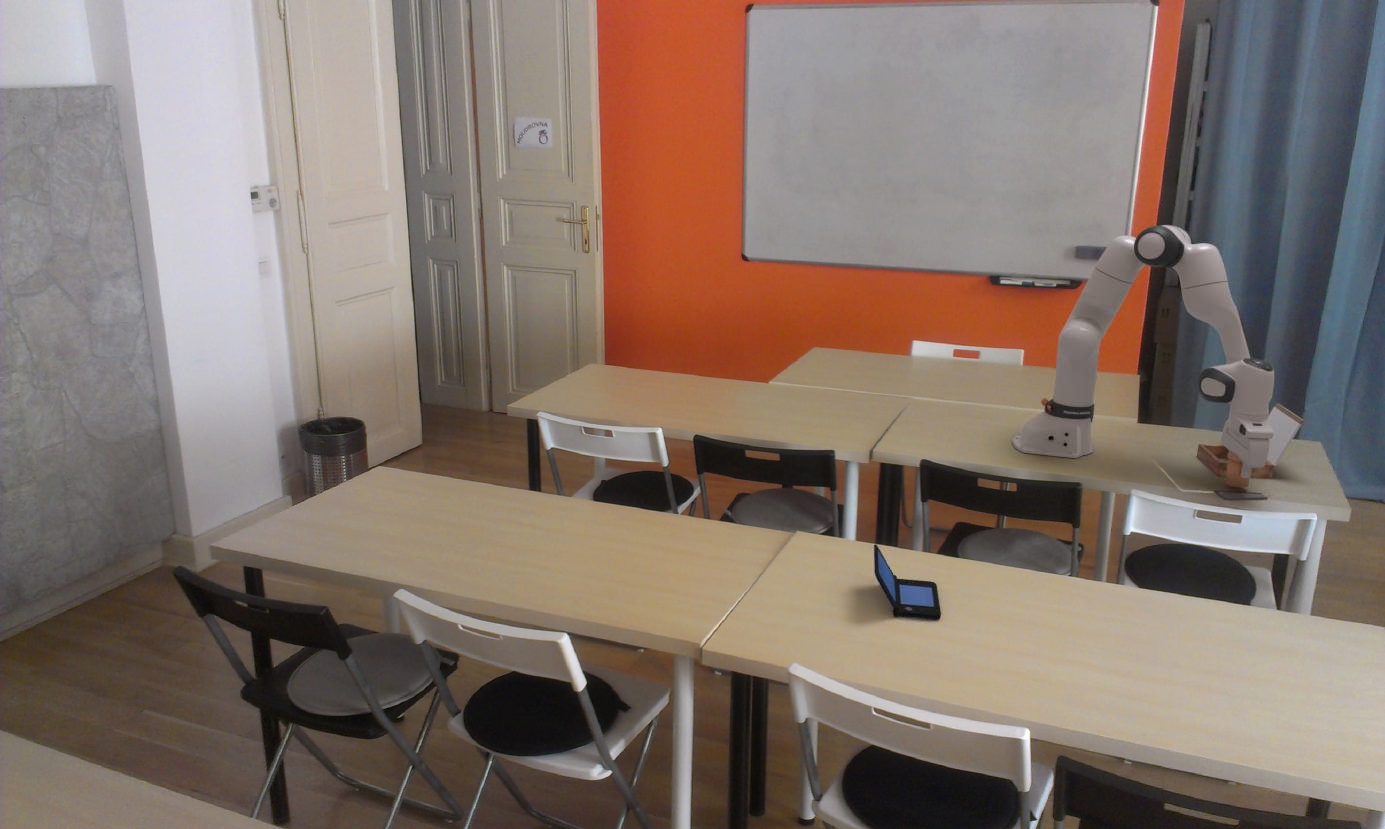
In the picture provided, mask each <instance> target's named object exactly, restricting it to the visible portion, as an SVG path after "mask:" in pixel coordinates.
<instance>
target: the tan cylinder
mask: <svg viewBox="0 0 1385 829" xmlns="http://www.w3.org/2000/svg"><path fill="white" fill-rule="evenodd" d="M1227 458H1228V459H1229V461H1228V467H1227V472H1226V476H1225V480H1224V483H1225V484H1226V485H1228V486H1230V487H1234V488H1242V489H1243V488H1248V487H1249V486H1250V481H1251V478H1250V476H1251V471H1252V469H1251V470H1250V472H1249V476H1248V478H1242V477H1240V476H1239V472H1240V470H1241V469H1242V467H1243V465H1242V461H1241V460H1240V459H1239V458H1238V457H1237V456H1236V455H1234V454H1233V453H1232V452H1231V451H1230V452H1228V457H1227Z"/></svg>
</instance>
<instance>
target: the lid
mask: <svg viewBox="0 0 1385 829" xmlns="http://www.w3.org/2000/svg"><path fill="white" fill-rule="evenodd" d="M1268 420H1269V424H1270V426H1271V428H1272V430H1273V432H1274V434H1273V438H1272V439H1269V441H1270V447H1269V452H1268V456H1267V460H1268V461H1269V462H1270V463H1271V464H1273V465H1274V467H1277V466H1278V464H1279V462H1280V460H1282V457H1283V455H1284V454H1285V452H1286V451H1287V449H1288V447H1289V446H1290V445H1291V443H1292V441H1293V439H1294V437H1295V436H1296V434H1297V433H1298V431H1299V429H1300V428H1301V426H1304V425H1305V423H1306V420H1304V419H1303V418H1302V417H1300V416H1298V415H1297V414H1296V413H1294V412H1292V411H1291V410H1289V409H1288V408H1286V407H1284V406H1283V405H1282V404H1281V403H1279V402H1278V403H1277V402H1276V403H1275V405H1274V407H1273V408H1272V409H1271V411H1270V412H1269V415H1268Z"/></svg>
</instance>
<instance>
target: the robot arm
mask: <svg viewBox="0 0 1385 829" xmlns="http://www.w3.org/2000/svg"><path fill="white" fill-rule="evenodd" d="M1145 266H1149V267H1155V268H1168V269H1171V268H1172V269H1174V270H1175V271H1176V272H1177V275H1178V277H1179V278H1178V279H1179V282H1180V283H1179V284H1180V288H1181V295H1182V301H1183V304H1184V307H1185V309H1186V311H1187V313H1188V314H1189V315H1190V316H1192V317H1193V318H1194V319H1196V320H1199V321H1201V322H1205V323H1206V324H1207V325H1209V326H1212V328H1214V329H1215V330H1216V331H1217V333H1218V335H1219V339H1220V341H1221V344H1222V349H1223V352H1224V355H1225V360H1226V362H1225V364H1219V365H1214V366H1210V367H1207V368H1205V369H1203V370H1202V371H1201V372H1200V373H1199V375H1198V376H1197V381H1196V389H1197V392H1198V393H1199V395H1200V396H1201V398H1202V399H1203V400H1205V401H1207V402H1210V403H1216V404H1217V403H1218V404H1228V405H1230V408H1229V413H1228V419H1226V420H1225V423H1224V426H1223V428H1222V429H1223V430H1222V432H1221V437H1220V442H1221V445H1224V446H1225V447H1226V448H1227V449H1228V450H1229V452H1230V451H1231V452H1232V453H1233V454H1234V455H1236V456H1237V457H1238V458H1239V459H1240V460H1241V461H1242V465H1243V467H1242V469H1241V470H1240V472H1239V476H1240V477H1242V478H1248V476H1249V472H1250V470H1251V469H1252V468H1263V467H1264V465H1265V463H1266V460H1267V456H1268V452H1269V447H1270V441H1269V439H1272V438H1273V434H1274V432H1273V430H1272V428H1271V426H1270V424H1269V420H1268V416H1269V414H1270V411H1269V410H1270V409H1269V404H1270V401H1271V400H1272V398H1273V392H1274V387H1275V371H1274V367H1273V365H1271V364H1270V363H1269V362H1267V361H1265V360H1262V359H1259V358H1254V356H1253V352H1252V349H1251V345H1250V343H1249V342H1250V341H1249V339H1248V336H1247V332H1246V328H1245V326H1244V325H1245V324H1244V321H1243V318H1242V315H1241V313H1240V310H1239V308H1238V307H1237V306H1236V304H1235V302H1234V300H1233V298H1232V295H1231V291H1230V286H1229V280H1228V275H1227V271H1226V267H1225V264H1224V261H1223V258H1222V255H1221V253H1220V251H1219V249H1218V248H1217V246H1215V245H1213V244H1210V243H1207V242H1206V243H1205V242H1204V243H1203V242H1202V243H1201V242H1200V243H1195V244H1194V240H1193V236H1192V235H1191V233H1189V231H1187V230H1186V229H1185V228H1183V227H1180V226H1176V225H1171V224H1162V225H1152V226H1149V227H1146V228H1145V229H1143V230H1141V232H1139V234H1138V235H1137V236H1136V237H1135V236H1131V235H1118V236H1116V237H1115V238H1114V239H1113V240H1112V241H1111V242H1110V243H1109V244H1108V246H1107V247H1106V248H1105V250H1104V251H1103V252H1102V254H1101V256H1100V257H1099V259H1098V261H1097V262H1096V265H1095V266H1094V268H1093V270H1092V272H1091V274H1090V276H1089V278H1088V280H1087V281H1086V283H1085V285H1084V288H1083V289H1082V291H1081V293H1080V295H1079V296H1078V298H1077V301H1076V302H1075V304H1074V307H1073V308H1072V310H1071V313H1070V314H1069V316H1068V317H1067V320H1066V322H1065V324H1063V325H1064V326H1063V327H1062V329H1061V331H1060V332H1059V335H1058V339H1057V340H1058V342H1057V353H1056V367H1055V368H1056V369H1055V370H1056V371H1055V379H1054V388H1053V394H1052V395H1053V396H1052V399H1050V400H1048V398H1046V397H1045V398H1044V397H1043V398H1042V399H1041V401H1040V404H1041V405H1042V406H1043V407H1044V411H1042V412H1041V413H1039V414H1038V415H1036V416H1034V417H1032V418H1030V419H1028V420H1027V421H1026V422H1025V423H1023V427H1022V429H1021V431H1020V432H1021V433H1020V435H1015V436H1014V437H1012V441H1011V444H1012V445H1013V447H1014V448H1015V449H1016V450H1017V451H1019V452H1021V453H1025V454H1033V455H1043V456H1050V457H1060V458H1070V459H1077V458H1081V457H1082V456H1086V455H1090V454H1091V453H1093V451H1094V449H1093V448H1094V447H1093V443H1092V423H1093V420H1094V415H1095V403H1094V400H1095V392H1096V385H1097V384H1096V383H1097V378H1098V376H1097V375H1098V374H1097V373H1098V363H1099V356H1100V348H1101V342H1102V340H1103V339H1104V337H1105V335H1106V333H1107V332H1108V329H1109V327H1110V326H1111V324H1112V322H1113V321H1114V319H1115V317H1116V316H1117V313H1118V312H1119V310H1120V309H1121V306H1122V305H1123V303H1124V302H1125V300H1126V297H1127V296H1128V294H1129V292H1130V290H1131V288H1132V286H1133V284H1135V283H1134V282H1135V281H1136V279H1137V277H1138V276H1139V274H1140V272H1141V270H1142V269H1144V268H1145Z"/></svg>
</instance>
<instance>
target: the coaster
mask: <svg viewBox="0 0 1385 829" xmlns="http://www.w3.org/2000/svg"><path fill="white" fill-rule="evenodd" d="M1213 493H1214V494H1217V495H1218V496H1220V497H1221V498H1223V500H1225V501H1234V500H1235V501H1237V500H1238V501H1240V500H1241V501H1245V500H1246V501H1248V500H1249V501H1250V500H1251V501H1254V500H1261V501H1262V500H1266V501H1267V500H1268V499H1269V498H1268V496H1266V495H1265V494H1263V493H1261V492H1247V491H1246V492H1245V491H1227V490H1226V491H1223V490H1213Z"/></svg>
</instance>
